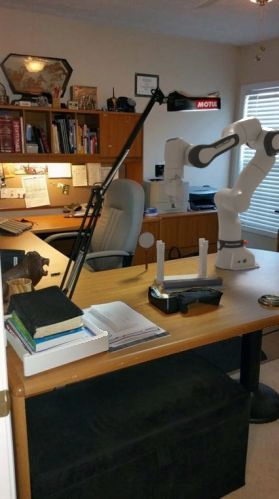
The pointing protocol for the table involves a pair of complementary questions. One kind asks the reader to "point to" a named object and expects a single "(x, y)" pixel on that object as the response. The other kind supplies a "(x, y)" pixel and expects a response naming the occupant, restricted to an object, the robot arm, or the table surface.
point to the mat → (188, 288)
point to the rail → (192, 283)
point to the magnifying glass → (146, 244)
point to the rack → (160, 275)
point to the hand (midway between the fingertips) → (173, 205)
